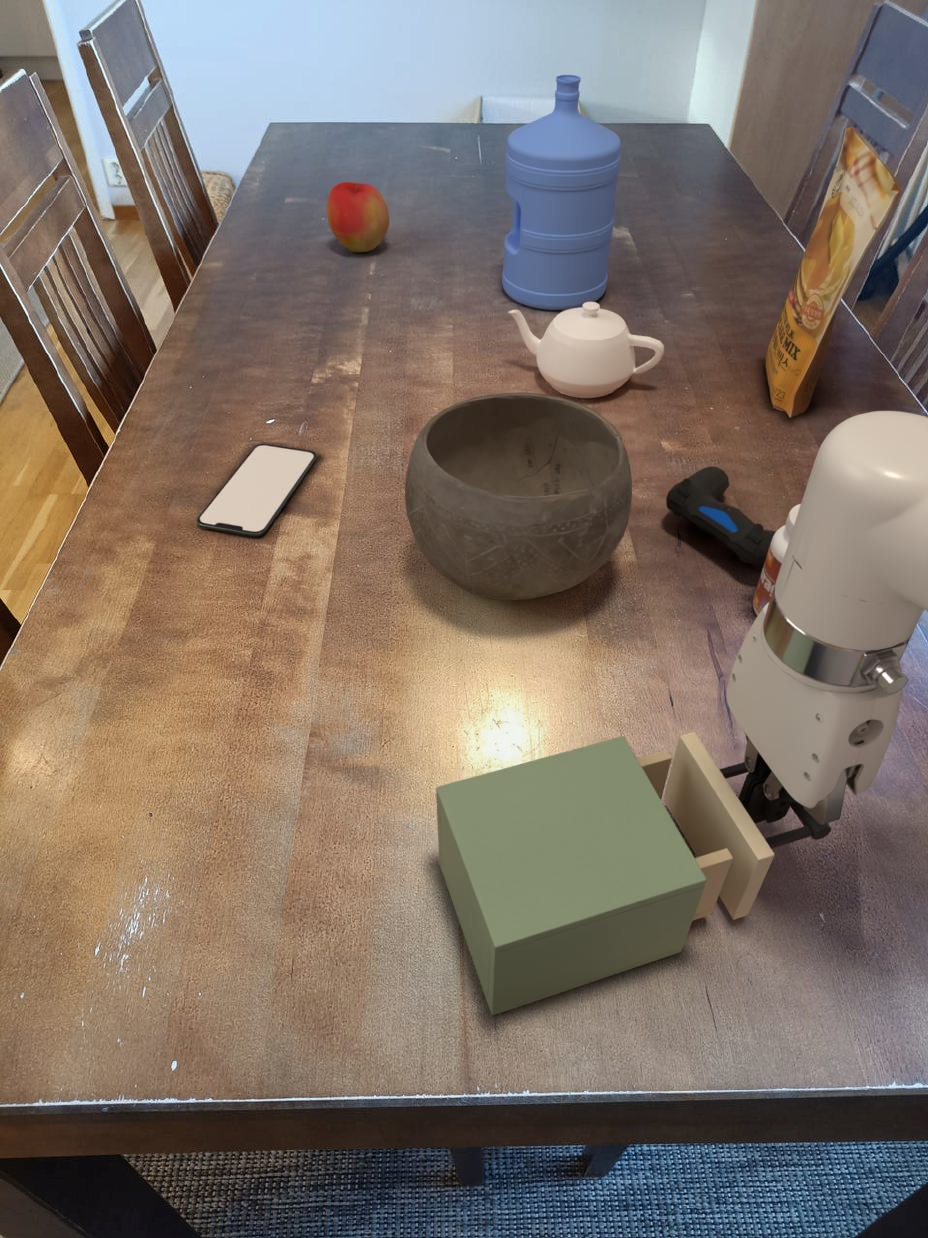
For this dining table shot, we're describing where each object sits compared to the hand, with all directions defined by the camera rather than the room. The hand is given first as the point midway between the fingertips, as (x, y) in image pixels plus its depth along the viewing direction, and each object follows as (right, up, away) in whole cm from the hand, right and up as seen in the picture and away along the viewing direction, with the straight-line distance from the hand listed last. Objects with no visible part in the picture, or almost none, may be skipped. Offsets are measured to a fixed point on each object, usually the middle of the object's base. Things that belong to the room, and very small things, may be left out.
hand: (760, 810), depth 63 cm
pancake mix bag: (+21, +43, +51) cm, 70 cm away
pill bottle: (+9, +14, +21) cm, 27 cm away
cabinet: (-15, -7, 0) cm, 16 cm away
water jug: (-7, +63, +72) cm, 96 cm away
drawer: (-6, -4, +1) cm, 7 cm away
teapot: (-6, +44, +52) cm, 69 cm away
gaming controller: (+7, +22, +29) cm, 37 cm away
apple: (-38, +74, +83) cm, 117 cm away
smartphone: (-43, +28, +35) cm, 62 cm away
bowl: (-16, +18, +26) cm, 36 cm away
